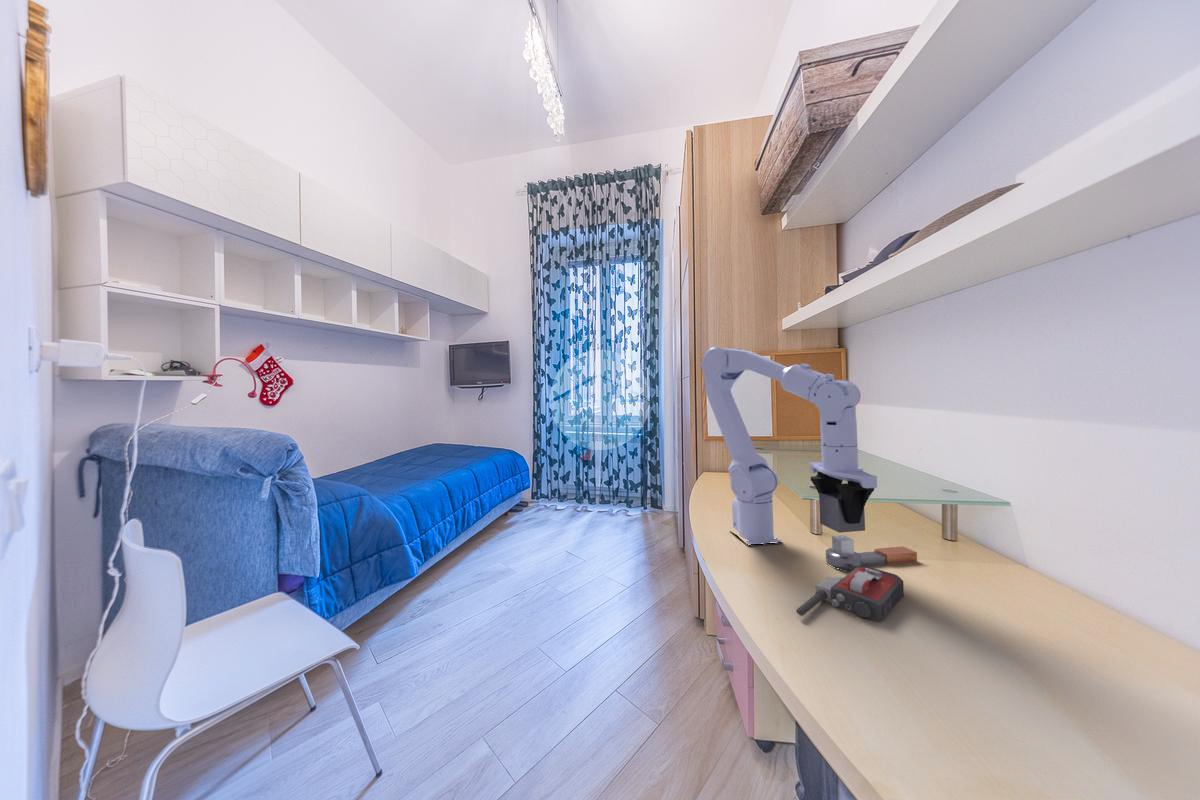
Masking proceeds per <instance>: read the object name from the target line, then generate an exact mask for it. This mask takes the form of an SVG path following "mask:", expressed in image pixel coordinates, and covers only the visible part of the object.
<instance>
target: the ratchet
mask: <svg viewBox="0 0 1200 800" xmlns="http://www.w3.org/2000/svg"><path fill="white" fill-rule="evenodd" d="M831 545H832V546H831V547H830V548H827V549H826V550H825V563H826V562H827V563H828V564H829V565H831V566H833V567H835V568H839V569H842V570H846V571H845V572H849V571H852V570H854V569H855V568H856V567H861V566H867V567H870V566H879V564H881V565H887V564H888V565H896V564H897V565H898V564H899V565H900V564H908V563H918V553H917V551H915V550H912V549H910V548H908V547H906V546H892V547H879V548H874V551H865V552H856V551H855V549H854V548H855V543H854V539H853V538H851V537H849V536H847V535H844V534H842V535H841V534H840V535H832V536H831ZM827 563H826V564H827ZM828 564H827V565H828ZM829 565H828V566H829ZM869 565H870V566H869ZM831 566H830V567H831ZM833 567H832V568H833ZM835 568H834V569H835ZM842 570H841V571H842Z"/></svg>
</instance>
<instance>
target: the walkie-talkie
mask: <svg viewBox="0 0 1200 800" xmlns="http://www.w3.org/2000/svg"><path fill="white" fill-rule="evenodd" d="M904 589H905V587H904V580H903V579H902V578H901V577H900V576H898V575H897V574H895V573H892V572H888V571H885V570H881V569H877V568H875V567H870V566H861V567H856V568H855V569H854V570H852V571H851V572H849V573H847V574H846V575H845V576H844V577H843V576H829V577H827V578H826V579H824V580H823V581H821V582H820V583H817V584H816V585H815V594H814V595H813V596H811V597H810V598H809V599H808V600H807V601H805V602H804V603H802V604H801V605H800V606H799V607H797V608H796V613H797V615H799V616H801V617H803V616H804V615H806V614H807V613H808V612H809V611H810V610H812V609H813V608H814V607H815V606H816V605H818V604H819V603H820V602H823V601H825V602H829V603H831V605H832V606H833V607H838V608H840V609H841V610H842V609H843V610H845V611H848V612H851V613H854V614H856V615H858V616H859V617H861V618H865V619H868V620H872V621H874V622H876V623H882V622H883V621H884V620H885V618H887V616H888V615H889V614H890V613H891V612H892V610H893V609H894V608H895V607H896V606H897V604H898V603H899V602H900V601H901V600H902V599H903V598H904V596H905V592H904Z"/></svg>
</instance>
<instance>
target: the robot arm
mask: <svg viewBox="0 0 1200 800" xmlns="http://www.w3.org/2000/svg"><path fill="white" fill-rule="evenodd" d="M700 366H701V369H702V372H703V374H704V391H705V394H706V397H707V399H708V401H709V404H710V407H711V409H712V412H713V414H714V417H715V419H716V422H717V425H718V428H719V430H720V432H721V435H722V438H723V440H724V442H725V446H726V448H727V449H728V453H729V456H730V458H731V463H730V464H729V466H728V468H727V471H728V474H729V477H730V484H729V485H730V490H731V491H732V493H733V495H734V496H735V497H734V498H733V500H732V504H731V511H732V512H731V514H732V516H731V517H732V528H735V529H736V530H737V531H738V532H739V535H740V536H741V537H743V538H745V539H747V540H749V541H746V543H747V544H761V543H770V542H781V541H783V539H781V538H780V537H778V538H779V539H780V540H778V538H776V539H774V535H775V530H774V526H775V525H774V510H773V509H774V507H773V505H774V504H773V503H774V502H773V498H774V494H773V492H774V491H776V490H777V488H778V485H779V479H778V476H777V473H776V472H775V471H774V469H772V468H771V467H770V466H769V464H768V462H767V459H766V458H764V457H763V456H761V455H760V454H759V453H758V452H757V450H756V449H755V447H754V444H753V441H752V440H751V437H750V434H749V432H748V430H747V427H746V425H745V423H744V420H743V418H742V415H741V413H740V411H739V408H738V406H737V403H736V401H735V398H734V396H733V393H732V388H733V386H734V384H735V383H736V382H737V380H739V378H740V377H741V375H742V374H743V373H744V372H745V371H751V372H755V373H757V374H760V375H761V376H764V377H767V378H770V379H773V380H775V381H778V382H779V383H780V386H781V389H782V390H784V391H785V392H788V393H790V394H791V395H792V394H793V395H795V396H797V397H799V398H801V399H804V400H806V401H808V402H811V403H812V404H814V405H815V407H816V408H817V409H818V410H819V423H820V424H819V426H820V429H819V430H820V452H821V453H820V454H821V455H820V456H821V462H820V461H813V462H809V472H810V473H813V474H815V473H816V475H814V476H810V482H811V483H812V484H813V485H814V487H815V489H816V491H817V493H818V494H819V492H830V491H839V492H840V494H841V497H842V500H843V505H844V513H845V518H846V522H847V523H849V524H856V523H860V520H861V516H862V513H863V509H864V510H865V507H866V504H867V502H868V500H869V498H870V497H871V495H872V493H873V492H874V491H875V489H876V488H878V478H877V477H878V476H877V475H873V474H870V473H868V472H866V471H864V468H863V467H860V466H859V454H858V453H859V452H858V451H859V450H858V448H859V447H858V428H857V427H858V425H857V423H858V422H857V412H856V406H857V405H858V404H859V403H860V401H861V391H860V389H859V387H858V386H857V385H856V384H855V383H853V382H851V381H850V380H848V379H838V380H835V374H831V373H825V374H824V373H821V372H819V371H816V370H813V369H811V365H810V364H807V363H800V364H793V365H790V366H785V365H783V364H781V363H779V362H777V361H774V360H772V359H770V358H768V357H765V356H763V355H760V354H759V353H757V352H754V351H750V350H746V349H742V348H739V347H737V348H736V347H735V348H730V347H719V346H712V347H710V348H708V349H707V350H706V351H705V353H704V355H703V358H702V361H701V363H700ZM843 481H845V482H846V483H843ZM747 544H746V545H747Z"/></svg>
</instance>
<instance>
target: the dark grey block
mask: <svg viewBox="0 0 1200 800" xmlns="http://www.w3.org/2000/svg"><path fill="white" fill-rule="evenodd" d="M818 500H819V501H818V502H819V503H818V504H819V523H820V524H821V525H822V526H824V527H827V528H829V529H831V530H833V531H834V532H836V533H838V534H839V533H841V534H842V533H852V532H864V531H866V519H865V518H866V517H865V508H864V509H863V513H862V516H861V520H860V523H856V524H849V523H847V522H846V518H845V513H844V505H843V500H842V497H841V494H840V492H839V491H830V492H819V493H818Z"/></svg>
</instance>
